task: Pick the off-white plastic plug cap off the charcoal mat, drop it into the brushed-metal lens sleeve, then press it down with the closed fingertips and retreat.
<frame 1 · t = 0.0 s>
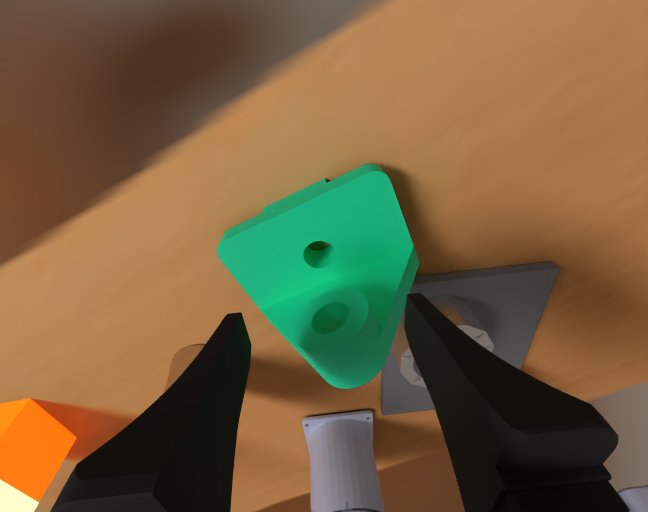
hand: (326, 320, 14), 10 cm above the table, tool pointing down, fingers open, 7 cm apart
mat: (453, 345, 30), on the table
orange juice: (17, 424, 33), on the table
lens sleeve: (426, 318, 28), resting on mat
camera mount: (317, 235, 23), on the table
beer glass: (205, 364, 30), on the table
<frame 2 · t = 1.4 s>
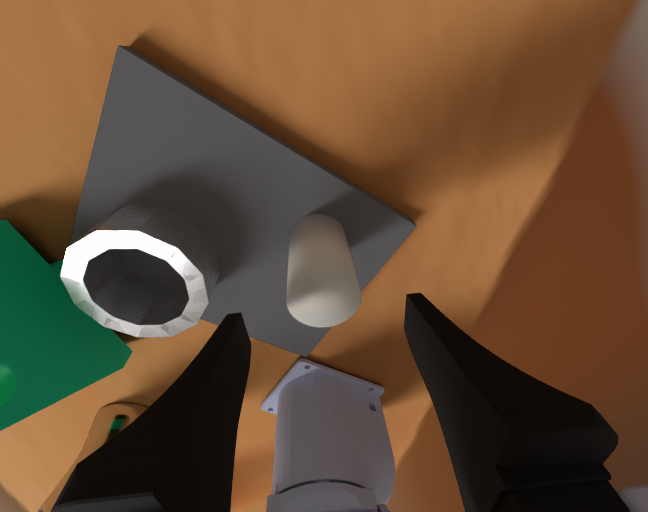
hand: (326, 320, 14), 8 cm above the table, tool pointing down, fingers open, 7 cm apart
mat: (242, 240, 21), on the table
lens sleeve: (167, 247, 21), resting on mat
plug cap: (317, 239, 20), point 1 cm above the table, touching mat
camera mount: (43, 298, 23), on the table
beer glass: (131, 418, 31), on the table
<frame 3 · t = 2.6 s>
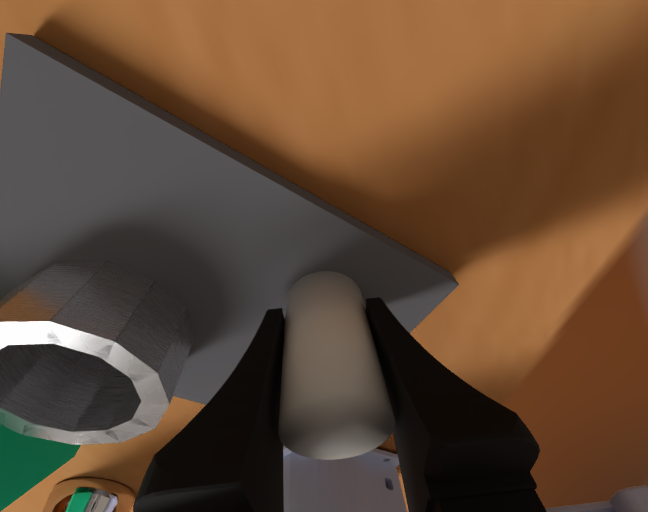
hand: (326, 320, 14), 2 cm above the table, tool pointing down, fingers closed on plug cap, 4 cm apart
mat: (222, 299, 15), on the table
lens sleeve: (122, 310, 15), resting on mat
plug cap: (324, 302, 15), point 1 cm above the table, touching gripper, mat
beer glass: (96, 491, 25), on the table
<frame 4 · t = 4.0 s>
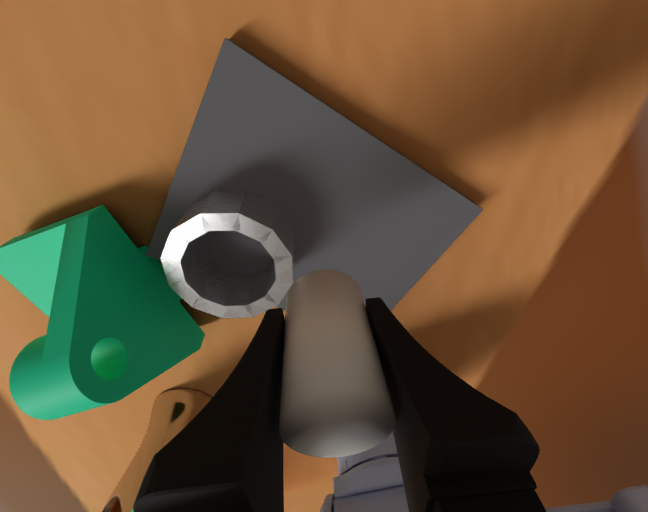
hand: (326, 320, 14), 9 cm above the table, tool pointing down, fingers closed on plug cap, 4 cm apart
mat: (313, 225, 22), on the table
lens sleeve: (241, 234, 22), resting on mat
plug cap: (324, 300, 15), point 8 cm above the table, touching gripper
camera mount: (123, 283, 24), on the table
beer glass: (186, 404, 32), on the table
when the fingers open (5 cm above the table, at t = 5.6 s): plug cap drops 2 cm, resting on mat.
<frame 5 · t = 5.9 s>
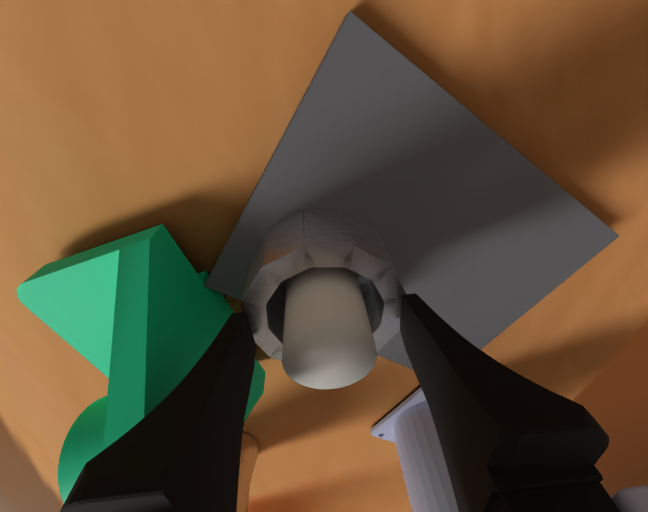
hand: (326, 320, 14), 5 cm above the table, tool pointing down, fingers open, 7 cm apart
mat: (406, 251, 18), on the table
lens sleeve: (319, 260, 18), resting on mat
plug cap: (321, 269, 17), point 1 cm above the table, touching mat
camera mount: (172, 313, 20), on the table
beer glass: (225, 444, 28), on the table
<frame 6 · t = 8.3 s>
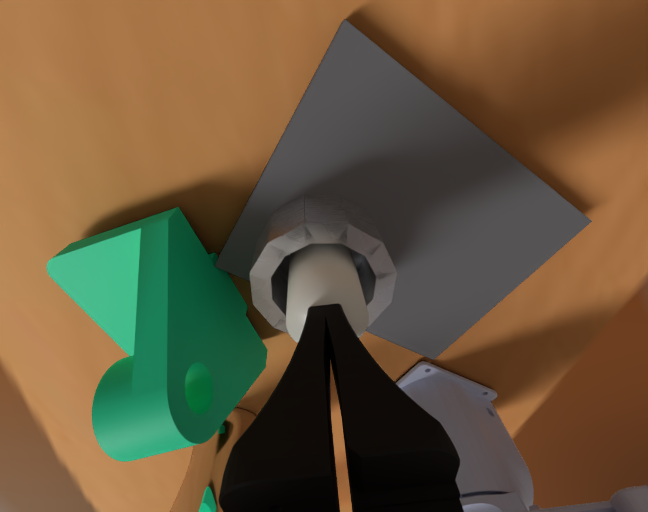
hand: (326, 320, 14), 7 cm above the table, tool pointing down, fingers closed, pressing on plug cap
mat: (398, 235, 19), on the table
lens sleeve: (319, 244, 19), resting on mat
plug cap: (320, 250, 18), point 1 cm above the table, touching gripper, mat
camera mount: (182, 293, 21), on the table
beer glass: (230, 423, 29), on the table
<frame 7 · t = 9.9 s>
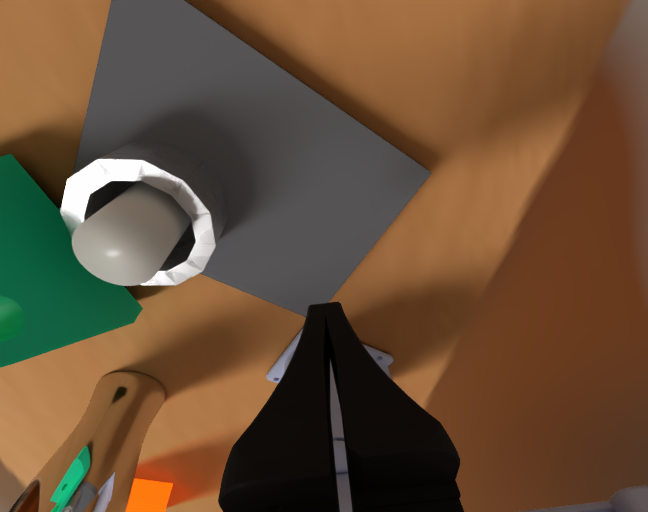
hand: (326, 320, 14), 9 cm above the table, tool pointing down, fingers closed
mat: (249, 189, 20), on the table
orange juice: (136, 492, 41), on the table
lens sleeve: (172, 197, 20), resting on mat
plug cap: (166, 202, 19), point 1 cm above the table, touching mat
camera mount: (50, 249, 22), on the table
beer glass: (133, 389, 30), on the table
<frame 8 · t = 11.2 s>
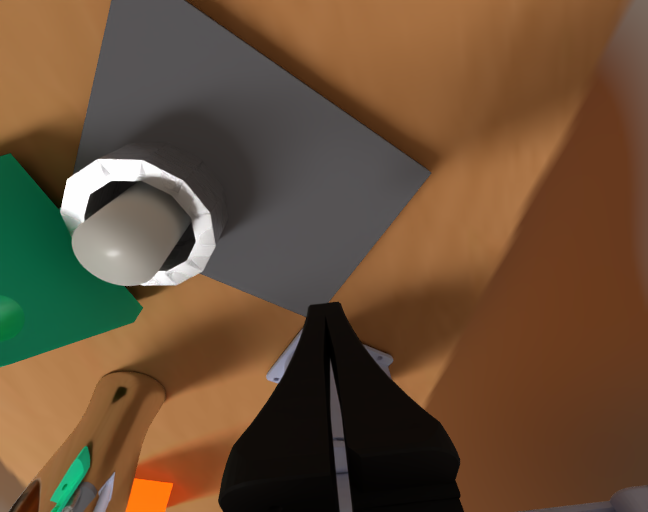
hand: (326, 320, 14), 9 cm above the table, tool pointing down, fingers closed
mat: (249, 189, 20), on the table
orange juice: (136, 492, 41), on the table
lens sleeve: (172, 197, 20), resting on mat
plug cap: (166, 202, 19), point 1 cm above the table, touching mat
camera mount: (50, 249, 22), on the table
beer glass: (133, 389, 30), on the table
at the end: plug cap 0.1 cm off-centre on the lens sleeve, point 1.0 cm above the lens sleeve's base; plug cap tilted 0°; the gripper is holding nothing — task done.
